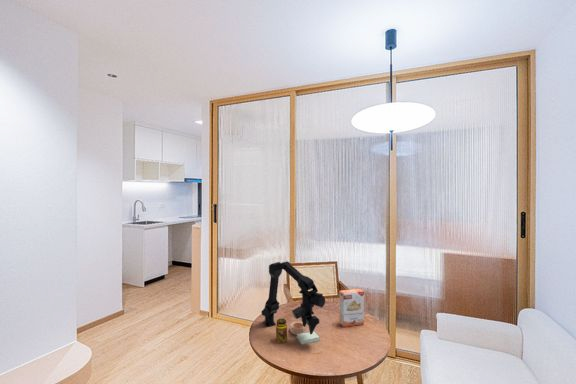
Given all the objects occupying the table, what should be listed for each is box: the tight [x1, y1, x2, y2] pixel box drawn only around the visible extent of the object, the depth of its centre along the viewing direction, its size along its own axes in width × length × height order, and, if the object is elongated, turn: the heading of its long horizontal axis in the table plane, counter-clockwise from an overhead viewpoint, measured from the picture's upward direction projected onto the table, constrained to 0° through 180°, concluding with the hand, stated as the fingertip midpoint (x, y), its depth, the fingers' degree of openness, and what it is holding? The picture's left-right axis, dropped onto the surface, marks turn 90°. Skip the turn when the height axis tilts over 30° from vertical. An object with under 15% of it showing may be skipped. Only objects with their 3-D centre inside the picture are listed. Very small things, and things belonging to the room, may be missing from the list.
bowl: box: [289, 321, 307, 336], centre depth 168 cm, size 9×9×4 cm
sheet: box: [296, 330, 320, 345], centre depth 158 cm, size 7×10×2 cm
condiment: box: [275, 318, 288, 344], centre depth 158 cm, size 7×8×12 cm
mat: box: [295, 337, 321, 346], centre depth 158 cm, size 8×12×1 cm
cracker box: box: [339, 288, 365, 328], centre depth 177 cm, size 14×6×21 cm, turn 105°
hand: (307, 330), depth 158 cm, fingers open, 9 cm apart
